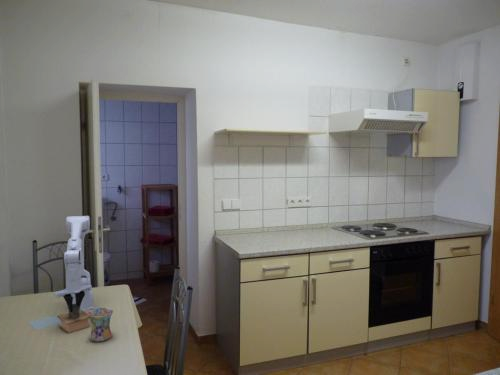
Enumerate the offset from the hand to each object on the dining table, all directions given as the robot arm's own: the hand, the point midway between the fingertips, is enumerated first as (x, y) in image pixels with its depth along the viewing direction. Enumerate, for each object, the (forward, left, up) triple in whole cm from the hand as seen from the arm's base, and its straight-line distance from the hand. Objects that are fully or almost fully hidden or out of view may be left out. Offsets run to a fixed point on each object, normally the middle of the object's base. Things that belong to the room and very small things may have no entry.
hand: (74, 310), depth 167 cm
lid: (0, 0, -3) cm, 3 cm away
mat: (+7, -13, -8) cm, 17 cm away
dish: (0, 0, -8) cm, 8 cm away
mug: (-4, +15, -8) cm, 17 cm away
